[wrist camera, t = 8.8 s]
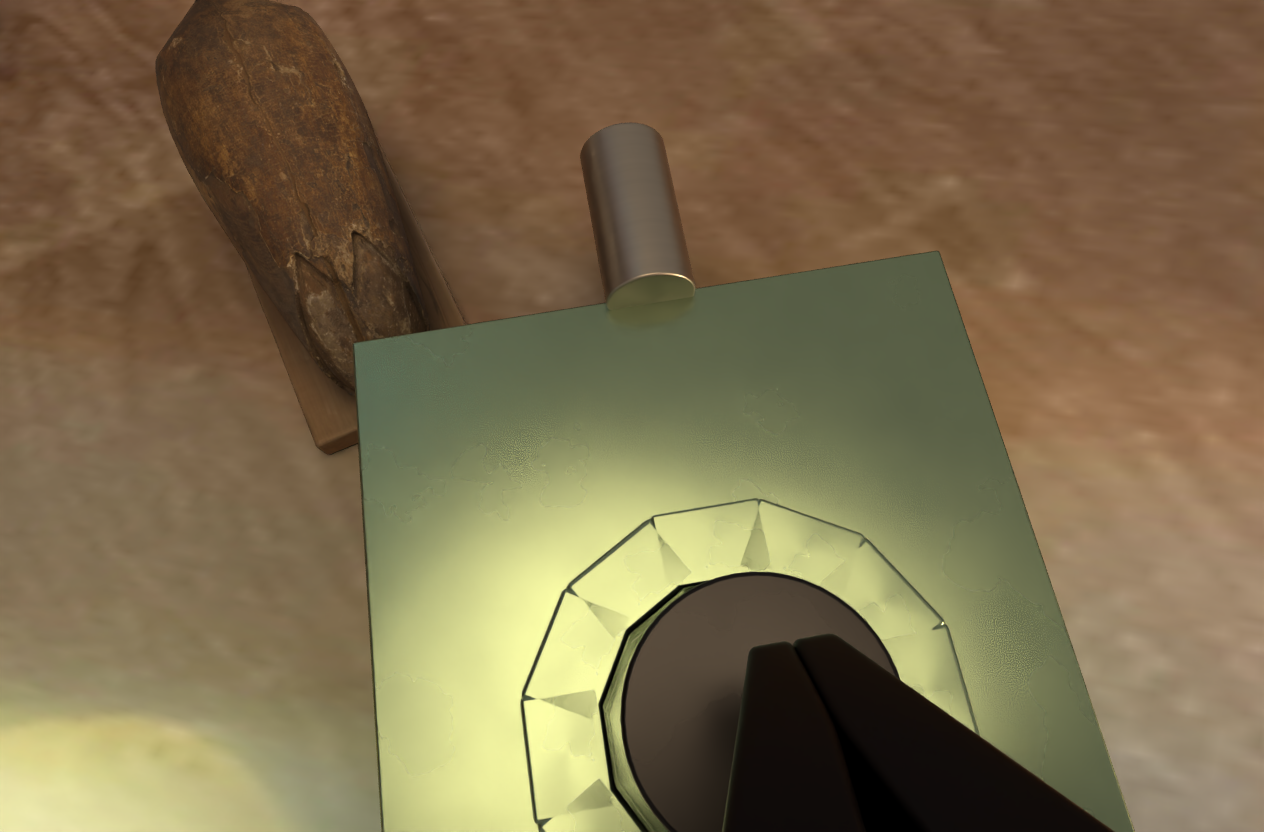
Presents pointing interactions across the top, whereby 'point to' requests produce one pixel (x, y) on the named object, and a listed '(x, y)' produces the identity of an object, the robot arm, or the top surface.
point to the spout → (635, 217)
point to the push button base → (688, 531)
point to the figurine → (300, 195)
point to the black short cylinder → (715, 684)
